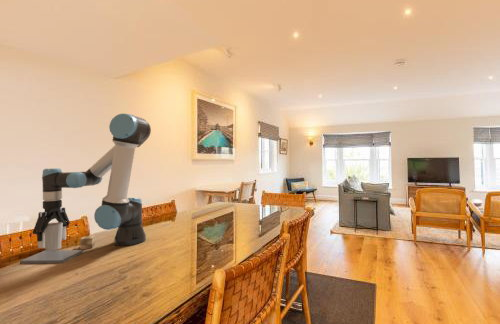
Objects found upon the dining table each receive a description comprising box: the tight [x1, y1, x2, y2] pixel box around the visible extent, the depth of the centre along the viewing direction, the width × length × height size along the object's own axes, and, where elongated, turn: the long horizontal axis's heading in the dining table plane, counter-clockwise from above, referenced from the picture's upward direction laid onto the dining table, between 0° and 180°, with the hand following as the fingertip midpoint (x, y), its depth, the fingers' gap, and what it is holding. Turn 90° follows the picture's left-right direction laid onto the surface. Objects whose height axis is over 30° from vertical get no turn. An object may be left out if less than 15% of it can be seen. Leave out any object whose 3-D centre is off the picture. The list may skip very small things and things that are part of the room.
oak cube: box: [79, 235, 96, 250], centre depth 131 cm, size 5×5×5 cm
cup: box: [43, 221, 63, 251], centre depth 129 cm, size 8×8×12 cm
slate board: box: [19, 249, 84, 264], centre depth 117 cm, size 18×13×1 cm
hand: (52, 243), depth 129 cm, fingers open, 13 cm apart
